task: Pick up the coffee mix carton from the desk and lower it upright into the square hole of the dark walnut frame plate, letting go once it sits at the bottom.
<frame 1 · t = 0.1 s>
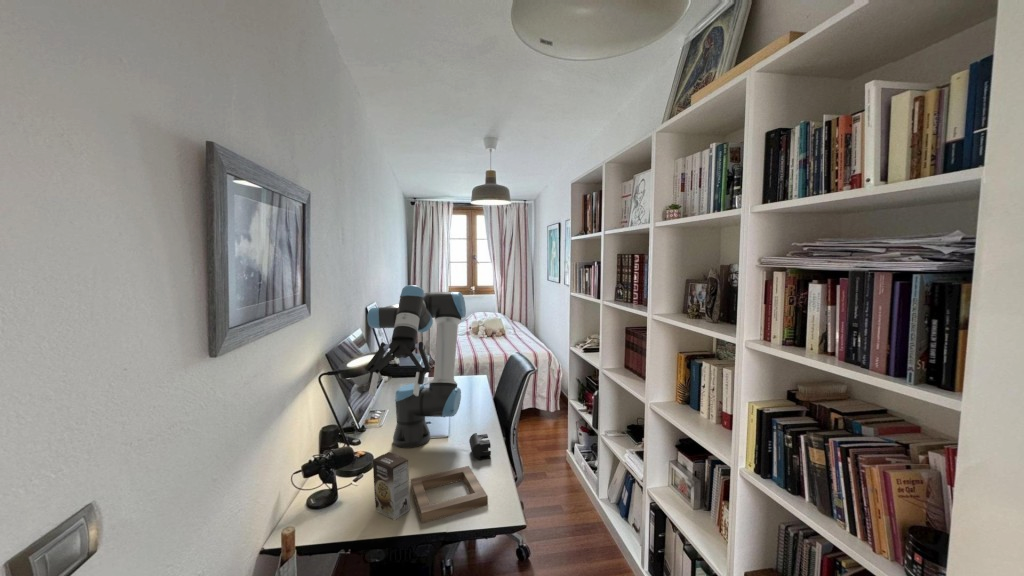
hand: (393, 395, 120), 36 cm above the table, tool tilted 35°, fingers open, 13 cm apart
coffee box: (392, 510, 123), on the table
end cap: (480, 455, 157), on the table
walnut hole plate: (447, 496, 130), on the table
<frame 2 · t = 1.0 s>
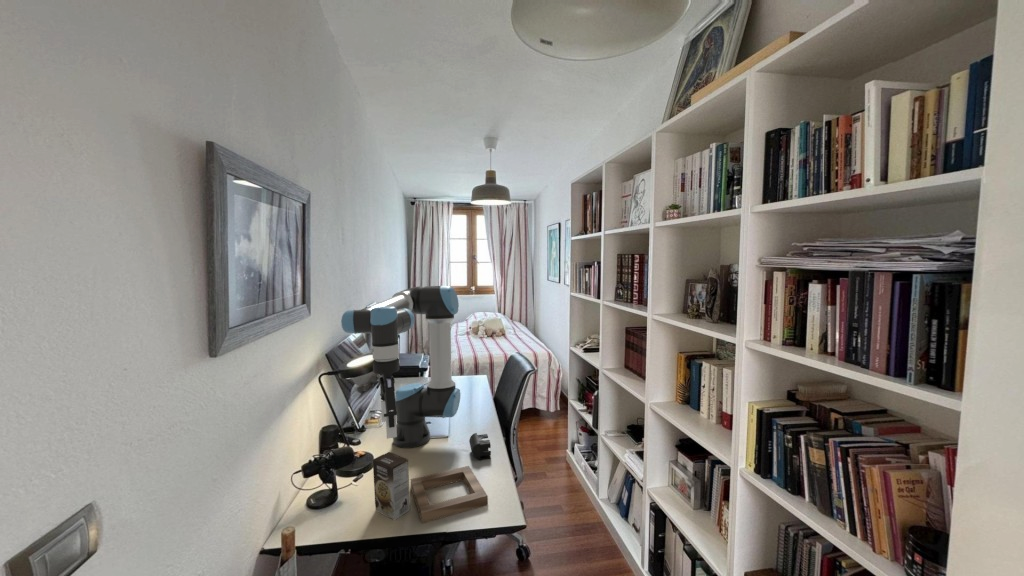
hand: (389, 428, 122), 25 cm above the table, tool pointing down, fingers open, 13 cm apart
nothing on the table moved.
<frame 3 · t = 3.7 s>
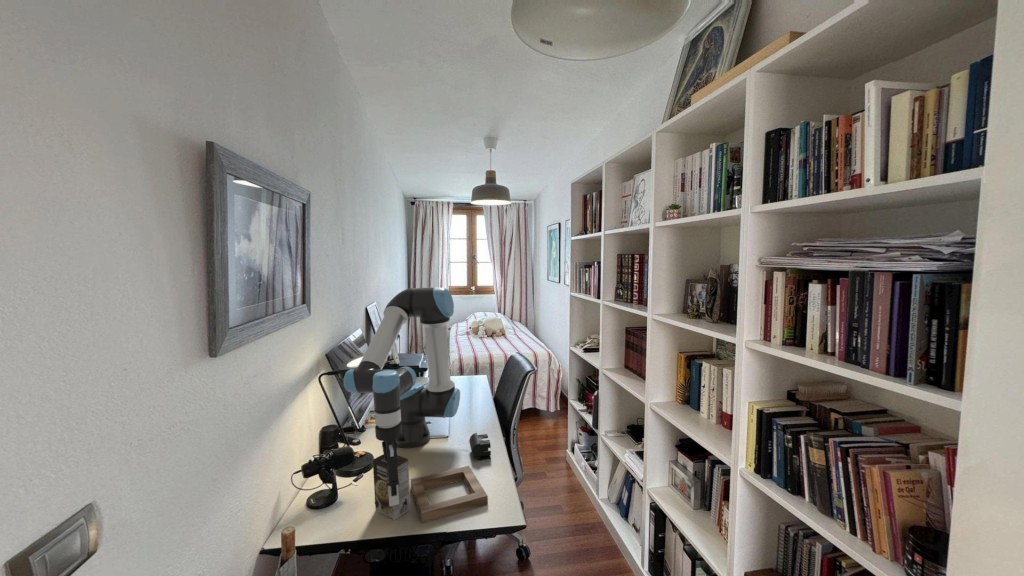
hand: (392, 494, 123), 5 cm above the table, tool pointing down, fingers closed on coffee box, 11 cm apart
coffee box: (392, 510, 123), on the table, touching gripper
everything else where it was.
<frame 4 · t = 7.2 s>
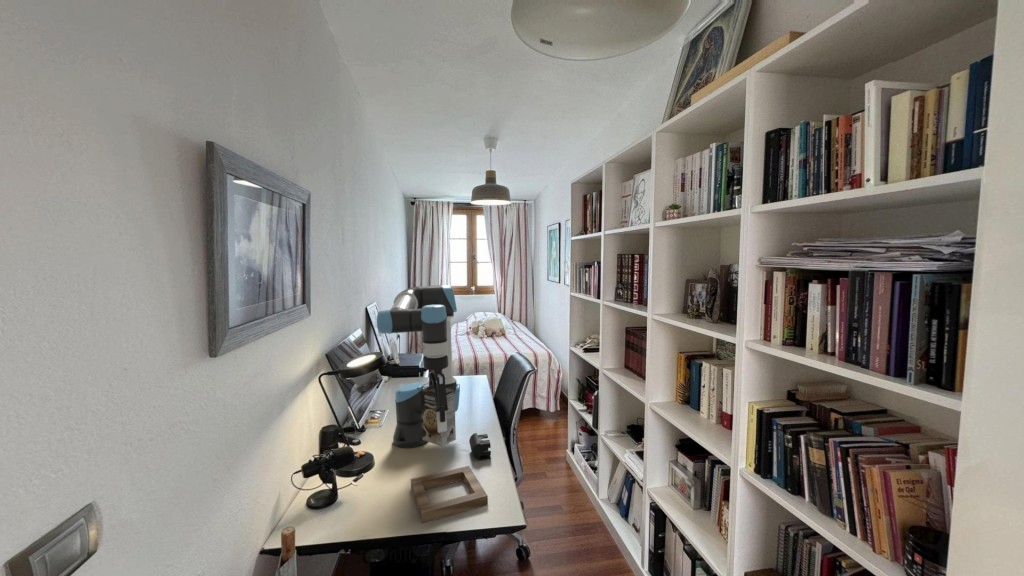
hand: (438, 424, 127), 24 cm above the table, tool pointing down, fingers closed on coffee box, 11 cm apart
coffee box: (439, 440, 128), point 19 cm above the table, touching gripper
everything else where it was.
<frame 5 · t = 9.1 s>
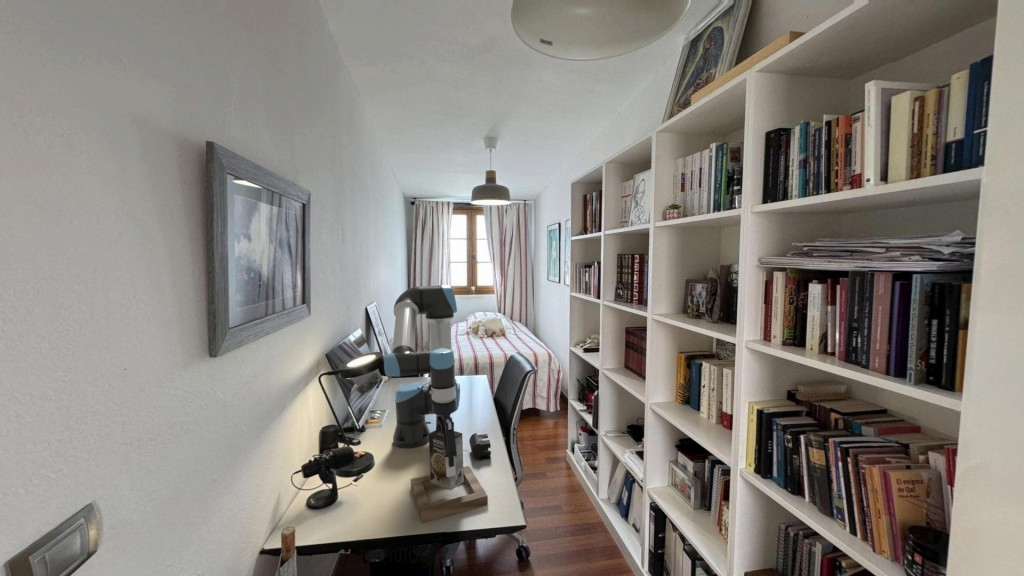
hand: (446, 467, 129), 10 cm above the table, tool pointing down, fingers closed on coffee box, 11 cm apart
coffee box: (447, 482, 129), point 4 cm above the table, touching gripper
everything else where it was.
when the fingers open (6 cm above the table, at t = 10.7 s): coffee box drops 1 cm, resting in walnut hole plate.
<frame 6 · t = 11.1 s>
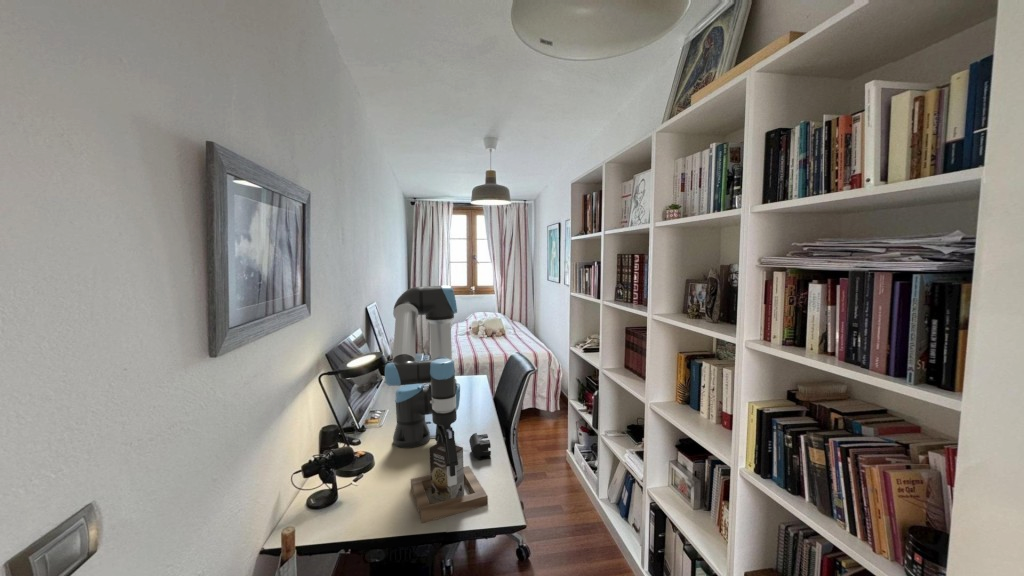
hand: (447, 474, 129), 7 cm above the table, tool pointing down, fingers open, 13 cm apart
coffee box: (448, 496, 130), resting in walnut hole plate
everything else where it was.
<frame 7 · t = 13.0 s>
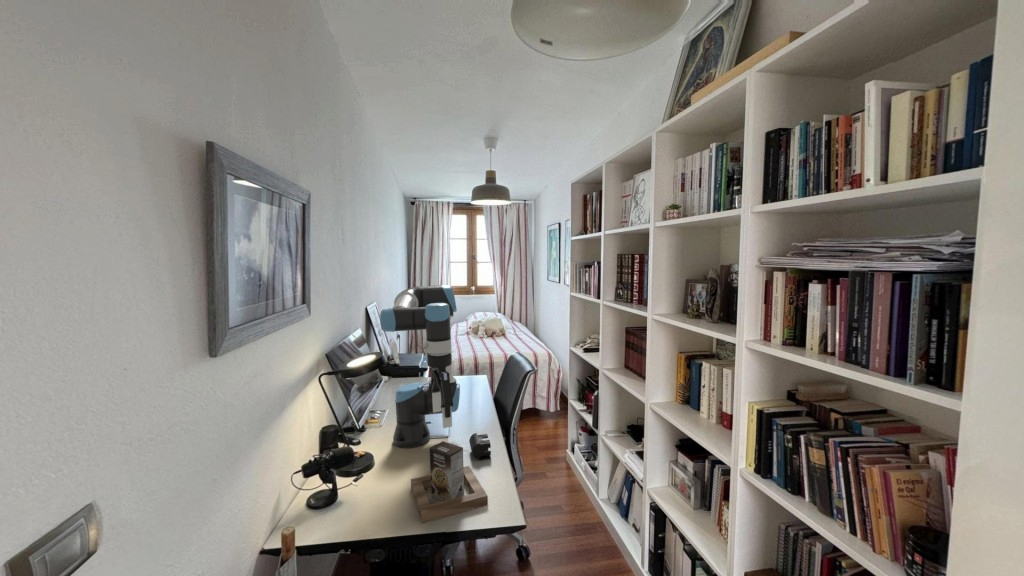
hand: (442, 418, 129), 25 cm above the table, tool pointing down, fingers open, 13 cm apart
nothing on the table moved.
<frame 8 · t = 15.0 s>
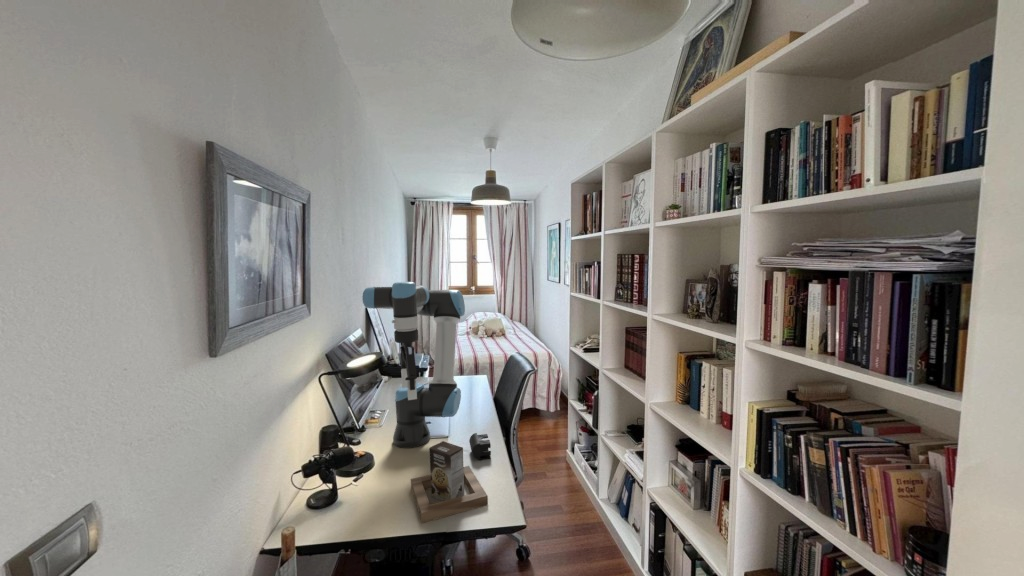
hand: (409, 393, 134), 32 cm above the table, tool pointing down, fingers open, 13 cm apart
nothing on the table moved.
at the end: coffee box 0.1 cm off-centre on the walnut hole plate, point 0.0 cm above the walnut hole plate's base; coffee box tilted 0°; the gripper is holding nothing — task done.
